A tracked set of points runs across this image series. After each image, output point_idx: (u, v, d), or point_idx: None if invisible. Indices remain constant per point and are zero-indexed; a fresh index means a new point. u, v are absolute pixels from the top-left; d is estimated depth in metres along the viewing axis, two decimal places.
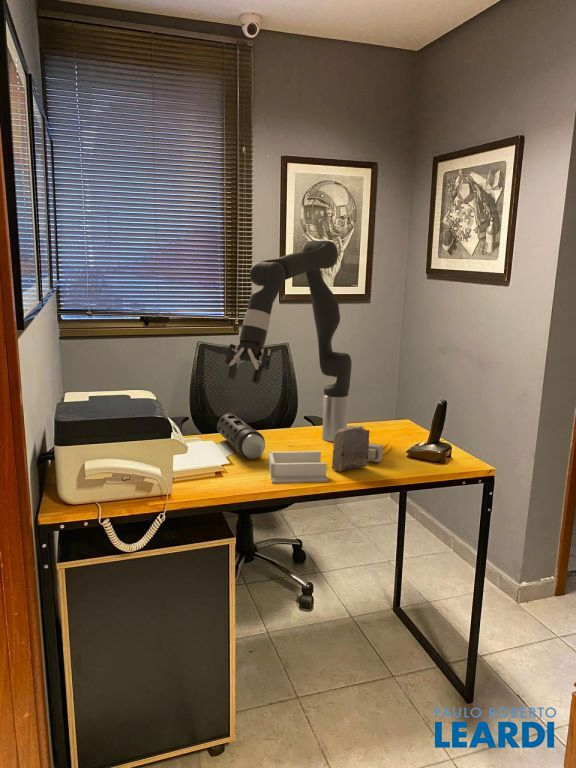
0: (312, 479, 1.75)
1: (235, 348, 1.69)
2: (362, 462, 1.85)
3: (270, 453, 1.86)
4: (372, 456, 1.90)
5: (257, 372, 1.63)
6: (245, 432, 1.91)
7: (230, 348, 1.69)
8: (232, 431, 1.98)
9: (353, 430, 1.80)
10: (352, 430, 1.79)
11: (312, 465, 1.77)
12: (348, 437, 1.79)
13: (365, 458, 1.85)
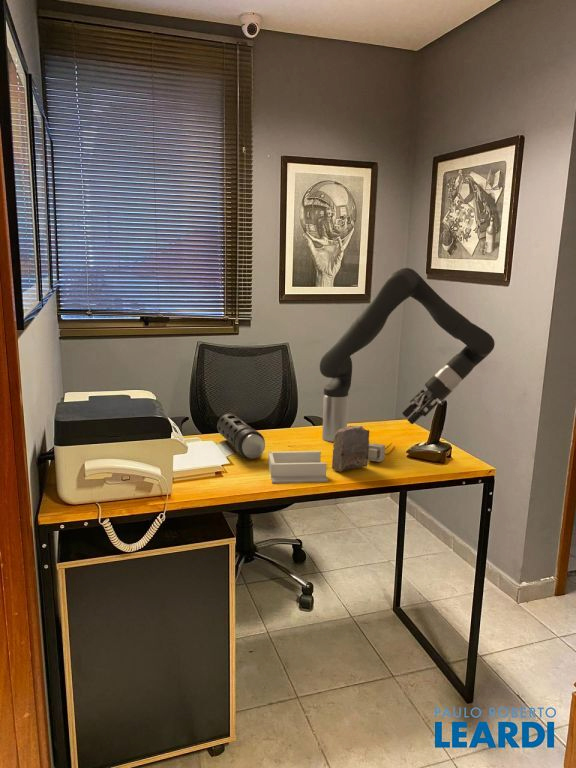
0: (312, 479, 1.75)
1: None
2: (362, 462, 1.85)
3: (270, 453, 1.86)
4: (374, 456, 1.90)
5: None
6: (245, 432, 1.91)
7: None
8: (232, 431, 1.98)
9: (353, 430, 1.80)
10: (352, 430, 1.79)
11: (312, 465, 1.77)
12: (348, 437, 1.79)
13: (365, 458, 1.85)
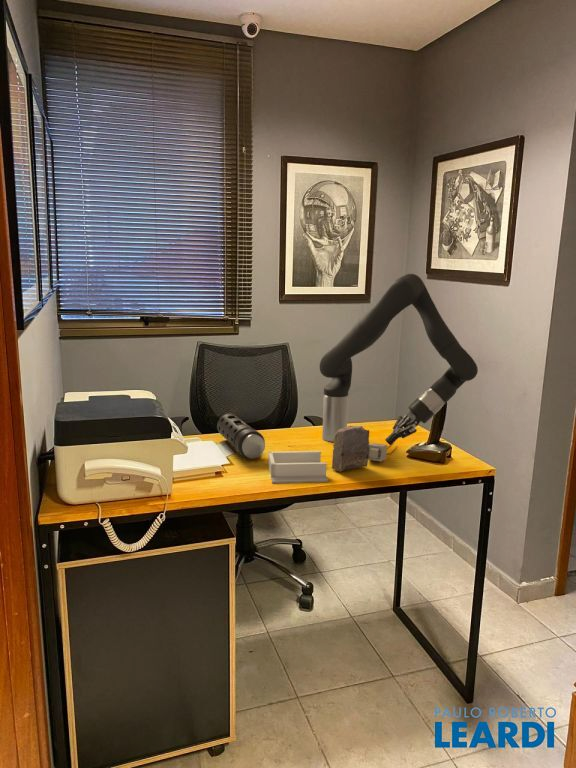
0: (312, 479, 1.75)
1: None
2: (362, 462, 1.85)
3: (270, 453, 1.86)
4: (375, 455, 1.91)
5: None
6: (245, 432, 1.91)
7: None
8: (232, 431, 1.98)
9: (353, 430, 1.80)
10: (352, 430, 1.79)
11: (312, 465, 1.77)
12: (348, 437, 1.79)
13: (365, 458, 1.85)
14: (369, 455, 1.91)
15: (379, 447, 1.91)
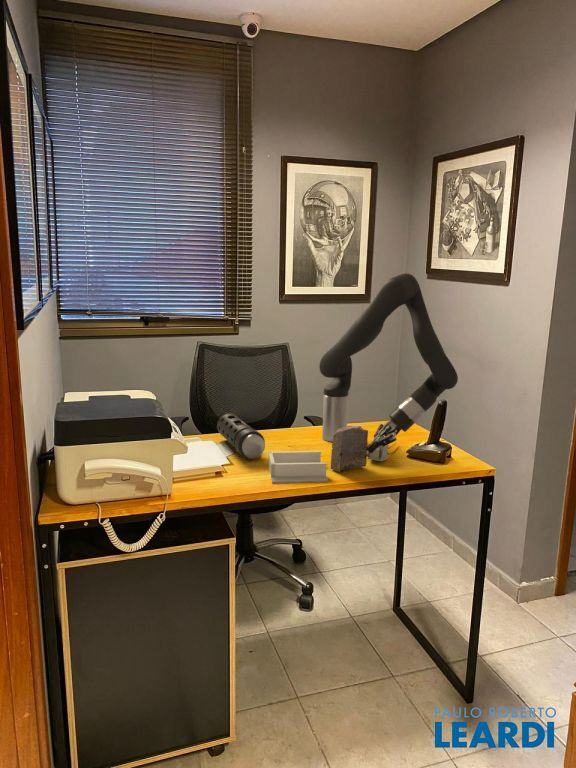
0: (312, 479, 1.75)
1: None
2: (361, 462, 1.85)
3: (270, 453, 1.86)
4: (376, 455, 1.91)
5: None
6: (245, 432, 1.91)
7: None
8: (232, 431, 1.98)
9: (352, 430, 1.79)
10: (351, 430, 1.79)
11: (312, 465, 1.77)
12: (346, 437, 1.79)
13: (364, 458, 1.85)
14: (370, 455, 1.92)
15: (380, 447, 1.91)
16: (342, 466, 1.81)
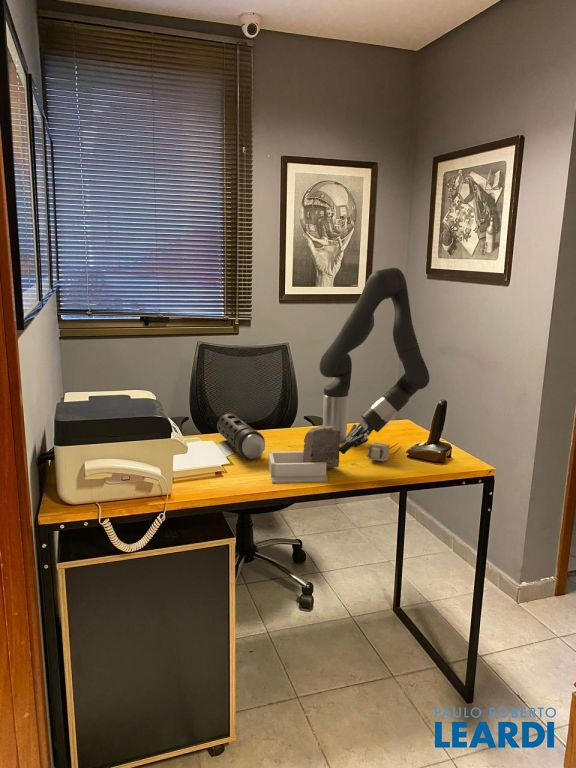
0: (312, 479, 1.75)
1: None
2: (333, 463, 1.83)
3: (270, 453, 1.86)
4: (377, 455, 1.91)
5: None
6: (245, 432, 1.91)
7: None
8: (232, 431, 1.98)
9: (323, 430, 1.78)
10: (322, 430, 1.78)
11: (312, 465, 1.77)
12: (318, 437, 1.78)
13: (336, 459, 1.84)
14: (371, 455, 1.92)
15: (381, 447, 1.91)
16: None
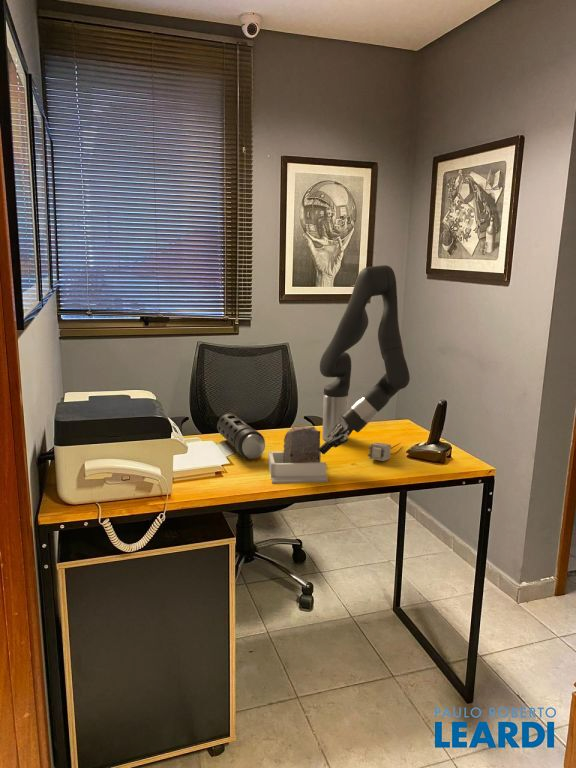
0: (312, 479, 1.75)
1: None
2: None
3: (270, 453, 1.86)
4: (378, 455, 1.91)
5: None
6: (245, 432, 1.91)
7: None
8: (232, 431, 1.98)
9: (302, 430, 1.78)
10: (301, 430, 1.78)
11: (312, 465, 1.77)
12: (297, 437, 1.77)
13: (316, 459, 1.83)
14: (372, 454, 1.92)
15: (382, 446, 1.92)
16: None
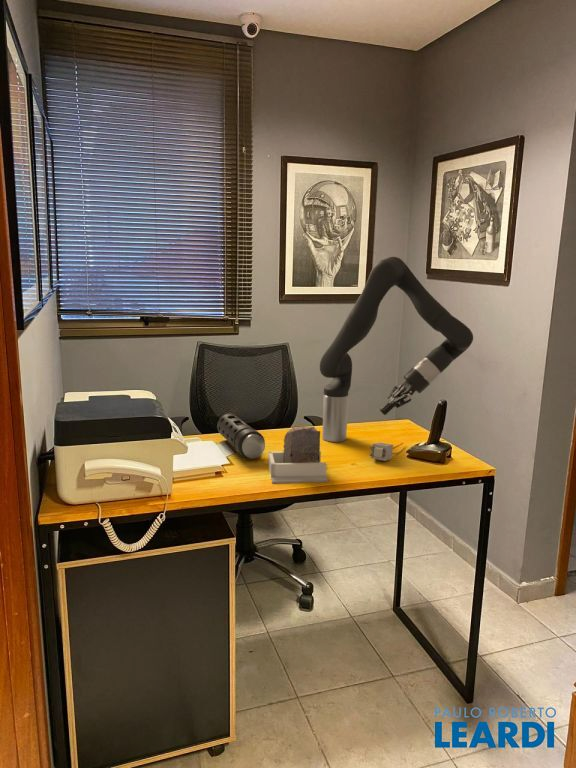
0: (312, 479, 1.75)
1: None
2: None
3: (270, 453, 1.86)
4: (379, 455, 1.92)
5: None
6: (245, 432, 1.91)
7: None
8: (232, 431, 1.98)
9: (302, 430, 1.78)
10: (301, 431, 1.78)
11: (312, 465, 1.77)
12: (297, 437, 1.77)
13: (316, 459, 1.83)
14: (374, 454, 1.92)
15: (384, 446, 1.92)
16: None
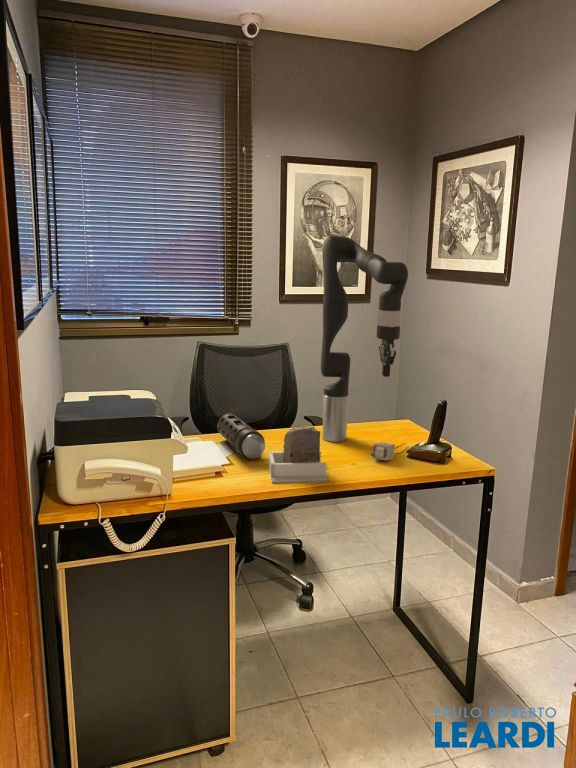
0: (312, 479, 1.75)
1: None
2: None
3: (270, 453, 1.86)
4: (380, 454, 1.92)
5: None
6: (245, 432, 1.91)
7: None
8: (232, 431, 1.98)
9: (302, 430, 1.78)
10: (301, 431, 1.78)
11: (312, 465, 1.77)
12: (297, 437, 1.77)
13: (316, 459, 1.83)
14: (375, 454, 1.93)
15: (385, 446, 1.92)
16: None
